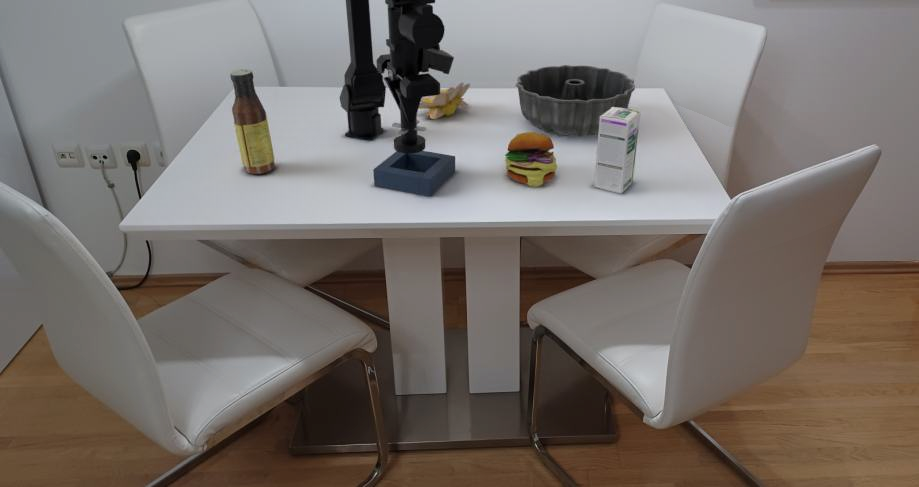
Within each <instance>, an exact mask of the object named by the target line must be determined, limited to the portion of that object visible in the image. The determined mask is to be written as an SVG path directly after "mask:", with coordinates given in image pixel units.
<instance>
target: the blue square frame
mask: <svg viewBox="0 0 919 487" xmlns="http://www.w3.org/2000/svg"><path fill="white" fill-rule="evenodd" d="M372 170H373V184H374V187H377V188H383V189H388V190H393V191H399V192H404V193H410V194H415V195H420V196H426V197H432V195H434V194H435V193H436V192H437V191H438V189H440V188H441V187H442V186H443V185H444V184H445V183H446V182H447V181H448V180H449V179H450V178H451V177H452V176H453V175H454V174H455V173H456V156H455V155H451V154H444V153H439V152H433V151H428V150H423V151H421V152H417V153H400V152H398V151H396V150H395V151H394V153H392V154H391V155H390V156H388V157H387V158H386V159H384V160H383V161H381V163H380V164H378V165H377V166H376V167H374V168H373V169H372Z"/></svg>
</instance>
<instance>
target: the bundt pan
mask: <svg viewBox="0 0 919 487" xmlns="http://www.w3.org/2000/svg"><path fill="white" fill-rule="evenodd" d="M516 79H517V80H516V82H515V87H516V88H517V92H518V99H519V105H520V111H521V113H522V114H521V115H522V116H523V117H524V119H526V120H527V121H528V122H529V123H530V124H531V125H532V126H534V127H535V128H537V129H542V130H543V131H544V132H546V133H548V134H552V133H557V134H559V135H562V136H569V135H572V134H575V135H576V136H578V137H582V136H584V135H585V134H587V135H597V134H598V133H599V121H600V116H601V115H602V114H604V113H605V112H606V111H608V110H610V109H611V107H618V108H627V109H629V104H630V101H631V98H632V94H633V92H634V91H635V89H636V85H635V84H634V83H635V79H632V78H629V77H628V75H627V74H625V73H623V72H619V71H615V70H611V69H609V68H607V67H604V68H603V67H597V66H591V65H569V64H563V65H559V66H558V65H555V66H553V65H552V66H551V65H550V66H549V65H548V66H542V67H539V68H536V69H533V70H527V72H526V73H523V74H520V75H519V76H517V78H516Z"/></svg>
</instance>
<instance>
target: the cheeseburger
mask: <svg viewBox="0 0 919 487" xmlns="http://www.w3.org/2000/svg"><path fill="white" fill-rule="evenodd" d="M554 146H555V145H554V142H553V140H552V138H551V137H550V136H548V135H546V134H543V133H539V132H534V131H529V132H522V133H518V134H516V135H515V136H514V137H513V138H512V139H510V141H509V143H508V146H507V152H506V154H505V155H504V157H505V163H506V164H505V169H506V171H507V176H508V178H510V179H512V180H513V181H516V182H518V183H522V184H526V185H527V186H529V187H534V188H537V187H540V186H542V185H543V184H544V183H547V182H549V181H550V180H552V179H553V178H554V177H555V175H556V171H557V168H558V166H557V158H556V157H555V155H554V151H551V150H553V149H554V148H555V147H554Z"/></svg>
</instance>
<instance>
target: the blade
mask: <svg viewBox="0 0 919 487" xmlns="http://www.w3.org/2000/svg"><path fill="white" fill-rule="evenodd" d="M399 113H400V114H399V117H400V122H393V123H392V124H391V127H392V128H398V129H399V130H398V131H397V133H398V134H399V135H398V136H396V137H394V138H393V149H394V150H395V152H396V151H398V152H400V153H417V152H421V151H425V149H426V148H427V147H426V146H427V145H426V138H425V137H424V136H422V135H419V134H418V132H425V131H426V130H427V127H425V126H419V123H420V120H419V119H418V118H417V116H418V114H417V115H416V119H415V122H414V123H409V122H408V120H407V118H406V115H405V113H404V110H403V108H402V105H401V103H400V110H399Z"/></svg>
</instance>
